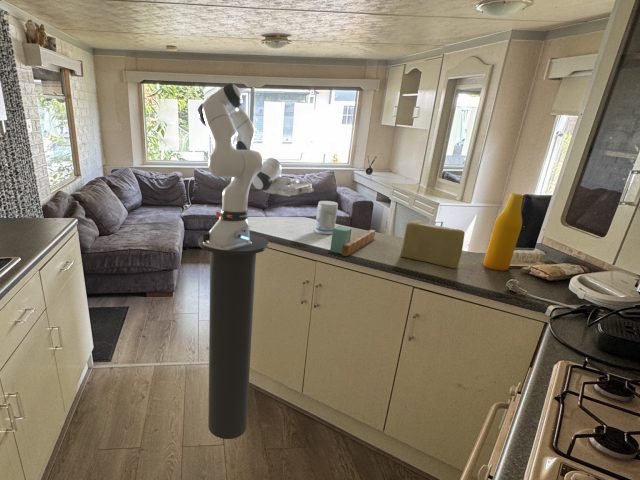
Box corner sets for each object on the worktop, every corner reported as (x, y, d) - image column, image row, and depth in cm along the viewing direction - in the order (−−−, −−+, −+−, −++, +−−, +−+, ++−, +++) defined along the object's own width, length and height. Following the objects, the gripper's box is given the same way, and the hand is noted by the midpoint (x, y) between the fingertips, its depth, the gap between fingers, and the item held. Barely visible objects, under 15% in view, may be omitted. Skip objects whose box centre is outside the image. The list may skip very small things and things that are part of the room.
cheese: (461, 266, 173) (471, 229, 166) (452, 271, 166) (461, 233, 160) (409, 252, 187) (416, 218, 181) (399, 256, 181) (405, 221, 175)
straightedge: (346, 256, 179) (348, 246, 177) (341, 255, 180) (342, 244, 178) (373, 239, 204) (375, 230, 203) (368, 238, 206) (370, 229, 204)
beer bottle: (509, 272, 168) (532, 197, 156) (482, 268, 171) (503, 194, 160) (507, 265, 175) (530, 194, 163) (482, 261, 179) (502, 191, 167)
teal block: (343, 254, 181) (346, 231, 177) (330, 251, 184) (333, 228, 180) (348, 250, 186) (351, 228, 182) (335, 248, 189) (338, 225, 185)
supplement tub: (311, 230, 217) (315, 200, 211) (329, 229, 219) (332, 200, 213) (319, 235, 208) (323, 204, 202) (337, 234, 210) (341, 204, 204)
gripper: (277, 182, 206) (303, 186, 200) (297, 178, 222) (321, 181, 215) (276, 196, 209) (301, 200, 202) (295, 190, 225) (320, 194, 218)
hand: (312, 190), depth 209 cm, fingers closed
